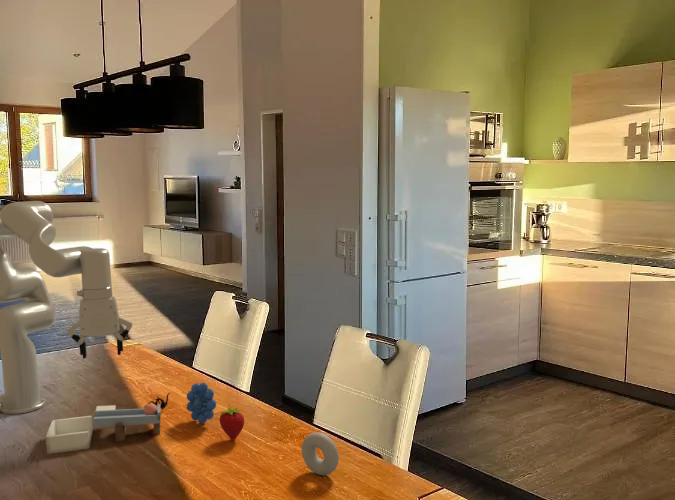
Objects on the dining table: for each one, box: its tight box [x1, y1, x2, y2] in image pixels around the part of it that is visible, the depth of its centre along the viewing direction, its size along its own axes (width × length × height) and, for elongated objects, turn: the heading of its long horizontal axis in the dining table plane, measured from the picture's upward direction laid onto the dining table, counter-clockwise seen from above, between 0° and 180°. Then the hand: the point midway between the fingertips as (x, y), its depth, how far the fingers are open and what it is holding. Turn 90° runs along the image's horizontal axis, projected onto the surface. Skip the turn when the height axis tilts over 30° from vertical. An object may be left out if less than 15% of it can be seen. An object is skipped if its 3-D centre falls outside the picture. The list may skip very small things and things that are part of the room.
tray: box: [45, 415, 94, 455], centre depth 172 cm, size 10×12×4 cm
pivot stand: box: [114, 423, 127, 443], centre depth 175 cm, size 2×7×5 cm, turn 16°
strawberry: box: [218, 404, 245, 441], centre depth 170 cm, size 6×8×10 cm
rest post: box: [153, 422, 161, 436], centre depth 178 cm, size 2×5×3 cm, turn 16°
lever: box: [92, 404, 162, 428], centre depth 179 cm, size 17×13×4 cm
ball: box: [143, 402, 157, 415], centre depth 177 cm, size 4×4×4 cm
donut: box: [301, 431, 340, 476], centre depth 150 cm, size 10×3×10 cm, turn 54°
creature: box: [143, 392, 170, 411], centre depth 193 cm, size 8×5×8 cm
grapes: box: [186, 382, 217, 425], centre depth 183 cm, size 12×7×12 cm, turn 52°
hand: (102, 355), depth 180 cm, fingers open, 8 cm apart
